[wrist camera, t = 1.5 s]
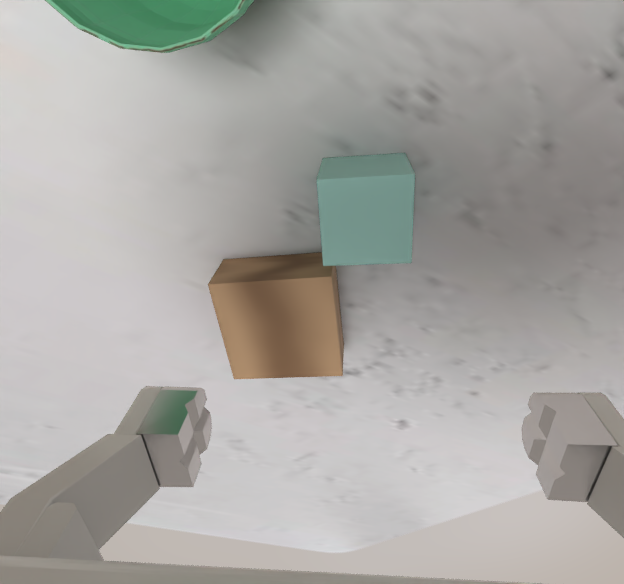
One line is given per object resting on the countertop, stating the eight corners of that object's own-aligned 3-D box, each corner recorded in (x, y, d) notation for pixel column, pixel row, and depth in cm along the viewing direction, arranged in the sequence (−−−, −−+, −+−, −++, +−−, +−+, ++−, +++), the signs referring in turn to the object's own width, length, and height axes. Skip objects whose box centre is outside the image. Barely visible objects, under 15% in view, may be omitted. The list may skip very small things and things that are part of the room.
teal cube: (404, 152, 25) (415, 173, 21) (402, 229, 28) (411, 263, 24) (322, 157, 26) (316, 179, 22) (328, 233, 29) (323, 266, 24)
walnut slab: (334, 249, 29) (331, 276, 26) (344, 341, 33) (342, 375, 30) (224, 257, 30) (207, 284, 27) (246, 345, 34) (234, 379, 31)
